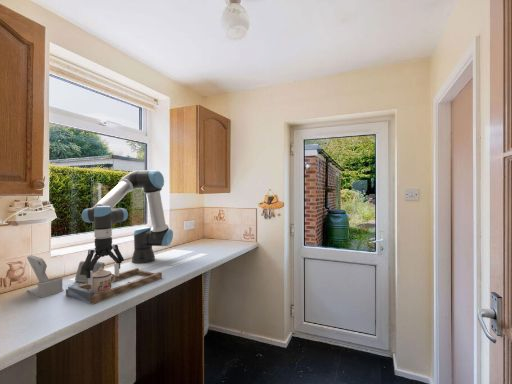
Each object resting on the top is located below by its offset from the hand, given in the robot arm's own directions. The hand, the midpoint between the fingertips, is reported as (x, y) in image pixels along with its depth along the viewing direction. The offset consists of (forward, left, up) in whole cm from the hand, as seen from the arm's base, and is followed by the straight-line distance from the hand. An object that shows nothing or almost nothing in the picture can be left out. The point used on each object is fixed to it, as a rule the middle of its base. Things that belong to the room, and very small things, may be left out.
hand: (104, 280), depth 134 cm
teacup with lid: (0, 0, -6) cm, 6 cm away
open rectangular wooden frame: (-7, 0, -5) cm, 9 cm away
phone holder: (+13, -27, -6) cm, 31 cm away
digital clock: (-5, -20, -6) cm, 22 cm away
